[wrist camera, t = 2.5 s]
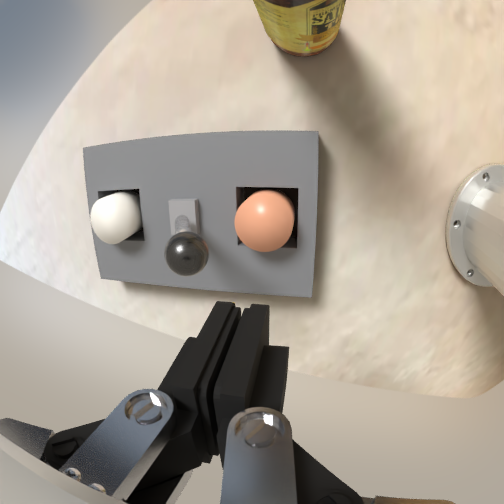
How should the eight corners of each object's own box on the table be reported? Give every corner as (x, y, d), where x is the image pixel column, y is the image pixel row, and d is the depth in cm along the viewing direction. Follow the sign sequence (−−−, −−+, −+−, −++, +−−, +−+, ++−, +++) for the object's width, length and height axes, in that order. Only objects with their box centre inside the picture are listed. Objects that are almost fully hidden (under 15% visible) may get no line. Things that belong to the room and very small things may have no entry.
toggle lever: (196, 203, 25) (210, 236, 16) (198, 234, 26) (213, 281, 17) (164, 206, 24) (161, 241, 16) (167, 237, 25) (166, 286, 17)
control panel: (317, 132, 25) (318, 131, 21) (312, 282, 30) (311, 301, 26) (100, 145, 29) (77, 148, 25) (115, 267, 33) (96, 281, 30)
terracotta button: (295, 188, 25) (293, 196, 22) (294, 239, 27) (291, 253, 24) (243, 187, 26) (233, 194, 23) (244, 236, 28) (235, 250, 24)
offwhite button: (144, 189, 28) (124, 196, 25) (149, 233, 29) (131, 245, 26) (108, 190, 29) (87, 198, 25) (113, 232, 30) (94, 243, 27)
